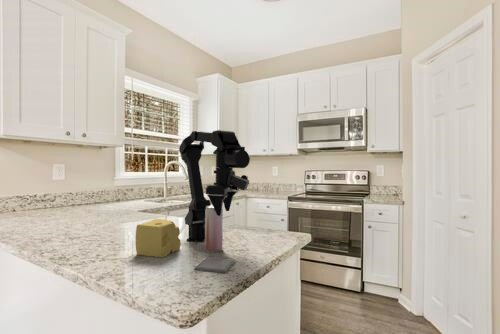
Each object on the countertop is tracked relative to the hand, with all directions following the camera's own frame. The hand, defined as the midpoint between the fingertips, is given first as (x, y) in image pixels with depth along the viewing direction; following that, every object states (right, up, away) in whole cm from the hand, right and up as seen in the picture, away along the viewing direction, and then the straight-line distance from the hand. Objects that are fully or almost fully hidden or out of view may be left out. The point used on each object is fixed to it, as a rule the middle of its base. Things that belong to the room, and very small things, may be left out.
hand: (223, 213), depth 94 cm
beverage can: (-3, -13, +1) cm, 13 cm away
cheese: (-22, -13, -2) cm, 25 cm away
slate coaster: (-1, -13, -14) cm, 19 cm away
